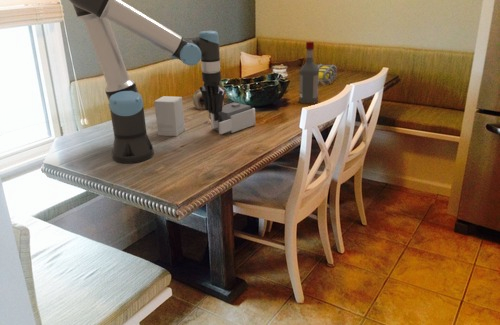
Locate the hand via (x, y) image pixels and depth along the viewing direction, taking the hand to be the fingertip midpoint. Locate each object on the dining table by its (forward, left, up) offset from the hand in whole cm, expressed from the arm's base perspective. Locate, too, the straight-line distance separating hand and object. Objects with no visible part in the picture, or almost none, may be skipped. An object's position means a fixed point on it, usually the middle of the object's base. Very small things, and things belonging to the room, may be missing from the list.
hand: (214, 127), depth 187 cm
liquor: (+66, -1, -3) cm, 66 cm away
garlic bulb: (+24, +34, -3) cm, 42 cm away
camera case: (+11, +1, -3) cm, 11 cm away
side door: (+9, -5, -3) cm, 10 cm away
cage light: (+111, +21, -3) cm, 113 cm away
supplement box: (-10, +16, -3) cm, 19 cm away
